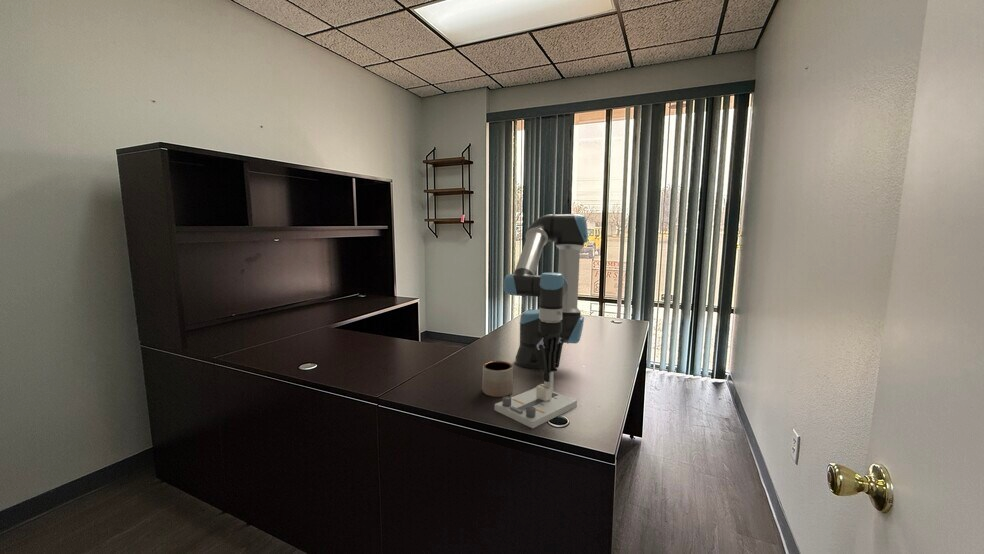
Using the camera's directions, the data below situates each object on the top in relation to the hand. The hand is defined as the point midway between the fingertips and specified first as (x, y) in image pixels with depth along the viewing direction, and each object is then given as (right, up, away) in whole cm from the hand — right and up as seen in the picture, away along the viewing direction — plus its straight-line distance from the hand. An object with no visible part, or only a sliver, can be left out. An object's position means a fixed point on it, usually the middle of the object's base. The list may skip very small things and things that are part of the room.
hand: (548, 389), depth 130 cm
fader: (-2, -2, -1) cm, 3 cm away
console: (-5, -5, -4) cm, 8 cm away
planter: (-17, -4, +9) cm, 20 cm away
